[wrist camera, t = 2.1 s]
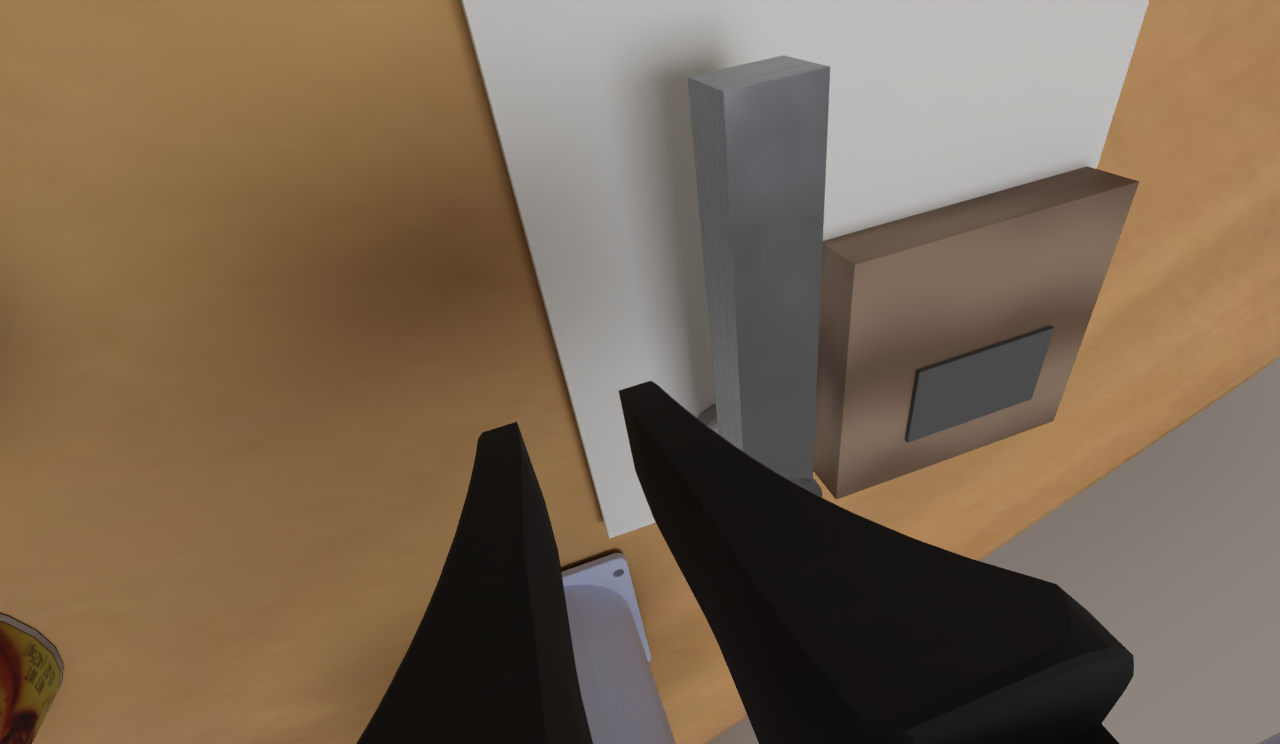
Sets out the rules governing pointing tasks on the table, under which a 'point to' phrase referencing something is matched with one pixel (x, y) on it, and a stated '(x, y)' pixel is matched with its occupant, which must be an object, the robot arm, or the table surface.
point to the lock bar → (763, 251)
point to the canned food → (25, 680)
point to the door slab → (954, 315)
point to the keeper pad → (976, 383)
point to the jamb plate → (665, 166)
